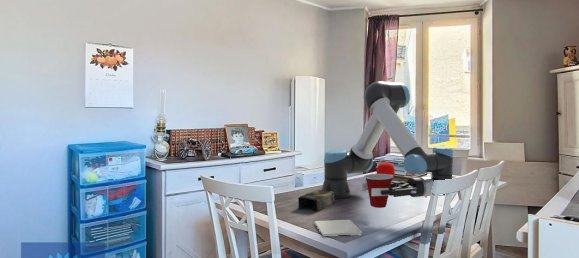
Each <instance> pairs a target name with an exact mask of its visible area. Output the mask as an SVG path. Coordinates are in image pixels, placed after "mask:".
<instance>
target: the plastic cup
mask: <svg viewBox="0 0 579 258" xmlns="http://www.w3.org/2000/svg"><path fill="white" fill-rule="evenodd" d="M364 178H365V182H366V183H367V186H368V190H367V192H368V199H369V203H370V206H371V207H372V208H375V209H377V208H378V209H383V208H386V207H387V204H388V198H389V196H390V195H386V196H371V192H372V188H389V187H390V185H391V181H393V180H392V178H393V175H389V174H377V173H371V174H370V173H369V174H365V175H364ZM393 179H394V178H393Z"/></svg>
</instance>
